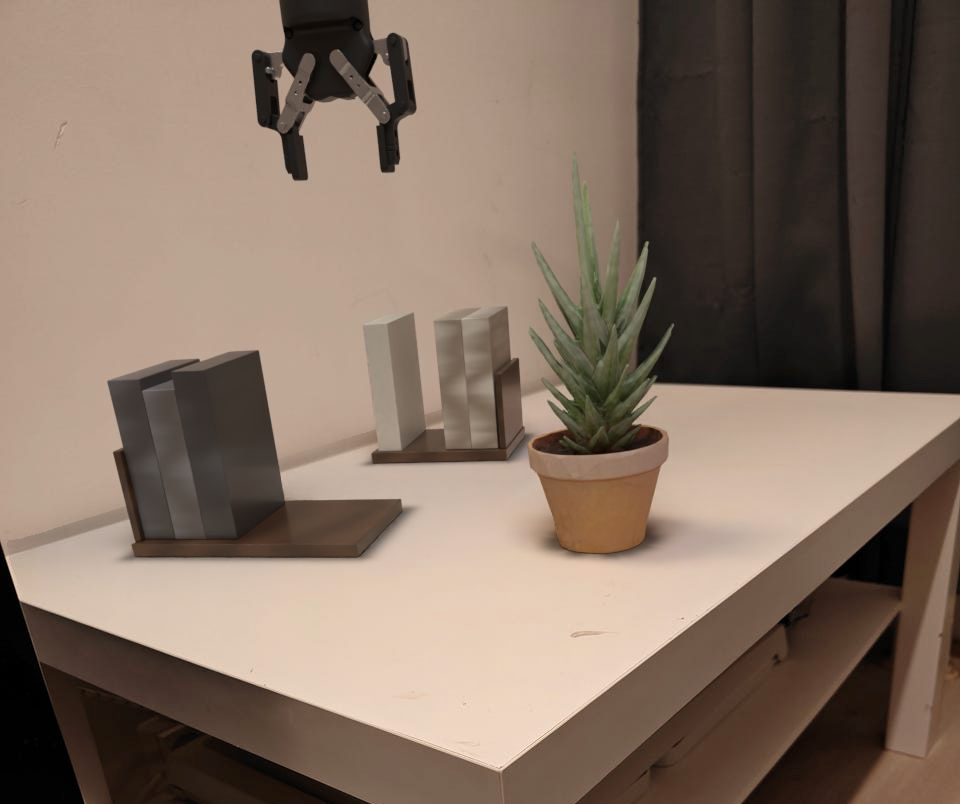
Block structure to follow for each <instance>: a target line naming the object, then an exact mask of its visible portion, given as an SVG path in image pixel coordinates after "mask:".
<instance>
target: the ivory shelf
mask: <svg viewBox="0 0 960 804" xmlns="http://www.w3.org/2000/svg"><path fill="white" fill-rule="evenodd" d="M433 329H434V341H435V348H436V360H437V361H436V362H437V371H438V381H439V393H440V402H441V404H440V405H441V412H442V423H443V428H426V430H425V431H424V432H423V433H422V434H421V435H420V436H418V437H417V438H416V439H415V440H414V441H413V442H411V443H410V444H409V445H408V446H407V447H406V448H405V449H403V450H402V451H386V452H379V450H378V448H376V449H375V450H374V451H372V452H371V462H372V464H391V463H395V464H396V463H432V462H433V463H436V462H475V461H477V462H481V461H482V462H483V461H507V460H508V459H509V457H510V456H511V455H512V454H513V452H515V449H516V448H517V447H518V445H520V443H521V441H522V440H523V439H524V437H525V436H526V427H525V426H524V421H523V403H522V402H523V401H522V387H521V371H520V358H519V357H513V358H512V354H511V353H512V352H511V340H510V323H509V309H508V306H507V305H504V306H502V305H501V306H500V305H499V306H486V307H484V306H483V307H471V308H457V309H455V310H453V311H451V312H449V313H447V314H444V315H442V316H440V317H438V318H436V319H434V320H433Z"/></svg>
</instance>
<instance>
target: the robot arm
mask: <svg viewBox="0 0 960 804" xmlns="http://www.w3.org/2000/svg"><path fill="white" fill-rule="evenodd" d="M278 3H279V10H280V18H281V26H282V30H283V31H282V32H283V35H284V43H283V48H282V51H265V50H260V49H255V50H253V51H252V53H251V65H252V66H251V67H252V78H253V87H254V99H255V108H256V119H257V124H258V125H259V126H260V127H261V128H265V129H269V130H272V131H275V132H277V133H278V134H279V136H280V138H281V147H282V153H283V160H284V167H285V170H286V172H287V174H288V175H291V177H292V180H293V181H294V182H302V181H303V182H304V181H308V179H309V172H308V164H307V156H306V149H305V140H304V135H301V134H300V131H301V129H302V126H303V125H304V122H305V120H306V118H307V116H308V115H309V114H310V113H311V111H312V110H313V108H314V106H315V104H316V102H318V103H324V104H325V103H331V102H334V101H336V100H339V99H340V100H346V101H352V100H356V98H358V99H359V100H360V101H361V102H362V103H363V104H364V105H365V106H366V107H367V109H369V111H370V112H371V113H372V115H373V116H374V117H375V118H376V120H377V121H378V125H375V128H376V129H375V130H376V139H377V149H378V159H379V168H380V172H381V173H382V174H392V173H395V172H396V166H398V165H400V161H401V152H400V141H399V140H400V139H399V130H398V128H399V124H400V122H401V121H402V120H403V119H405V118H407V117H409V116H413V115H415V113H416V112H417V100H416V99H417V97H416V90H415V86H414V85H415V83H414V76H413V70H412V69H413V68H412V62H411V55H410V47H409V42H408V39H407V38H406V37H404V36H402V35H400V34H399V33H396V32H390V33H389V34H388V35H387V37H383V38H378V39H374V37H373V34H372V30H371V20H370V9H369V0H278ZM379 55H380V57H381V59H382V63H383V64H384V65H386V66H388V67H389V69H390V76H391V77H390V78H391V84H392V91H393V97H394V101H393V102H391V103H390V102H389V101H388V100H387V98H386V97H385V94H384V93H383V92H382V90H381V88H380V87H379V86H378V85H377V84H376V82H375V81H374V79H373V78H372V77H371V75H370V74H371V72H372V70H373V67H374V66H375V64H376V61H377V59H378V57H379ZM284 67H285V69H286V70H287V71H288V72H289V74H290V75H291V76H292V78H293V81H292V83H291V85H290V87H289V90H288V92H287V94H286V96H285V100H284V103H285V104H284V106H283V108H282V111H281V107H280V106H281V105H280V95H279V84H278V83H279V81H278V80H280V79H281V77H282V75H283V68H284Z"/></svg>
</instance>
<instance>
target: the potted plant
mask: <svg viewBox="0 0 960 804" xmlns="http://www.w3.org/2000/svg"><path fill="white" fill-rule="evenodd" d="M572 153H573V154H572V155H573V157H572V163H571V164H572V166H571V172H572V173H571V176H572V177H571V179H572V180H571V181H572V195H573V198H572V203H573V213H574V225H575V231H576V234H575V235H576V245H577V253H578V260H579V270H580V275H579V306H578V305H577V306H576V304H575V303H574V302H573V301H572V299H571V298H570V297H569V295H568V294H567V293H566V291H565V290H564V288H563V287H562V286H561V284H560V282H559V280H558V279H557V277H556V275H555V274H554V272H553V270H552V269H551V266H549V263H548V262H547V261H546V259H545V257H544V255H543V254H542V252H541V251H540V249H539V248H538V246H537V245H536V243H535V242H534V240H531V248H532V252H533V254H534V257H535V260H536V263H537V266H538V267H539V269H540V272H541V273H542V276H543V277H544V279H545V283H546V284H547V286H548V288H549V290H550V292H551V295H552V296H553V299H554V302H555V303H556V305H557V307H558V309H559V312H560V313H561V315H562V316H563V319H564V320H565V322H566V324H567V326H568V328H569V329H570V331H571V333H572V335H573V337H574V339H573V338H572V337H571V336H570V335H569V334H568V333H567V332H566V331H565V330H564V329H563V328H562V326H561V325H560V324H559V323H558V322H557V320H556V318H555V317H554V316H553V315H552V313H551V312H550V311H549V309H548V308H547V306H546V305H545V304H544V302H543V301H542V299H540V298H539V297H537V301H538V307H539V309H540V311H541V314H542V316H543V318H544V321H545V322H546V324H547V326H548V328H549V330H550V332H551V333H552V335H553V337H554V339H553V345H554V347H555V349H556V350H557V352H558V354H559V355H560V357H561V358H560V359H559V361H558V360H557V358H556V357H555V356H554V354H553V353H552V352H551V350H550V348H549V347H548V346H547V344H546V343H545V342H544V340H543V339H542V337H540V336H539V334H538V333H536V331H535V330H534V329H533V328H532V327H531V326H530V325H529V326H528V334H529V336H530V338H531V340H532V341H533V343H534V344H535V346H536V348H537V349H538V351H539V352H540V354H541V355H542V356H543V358H544V359H545V360H546V362H547V364H548V365H549V367H550V368H551V369H552V371H553V372H554V373H555V374H556V376H557V377H558V378H559V379H560V381H561V382H562V383H563V384H564V387H565V388H566V390H567V391H568V393H569V394H570V395H571V397H572V398H573V399H569V398H568V397H567V396H565V394H563V393H562V392H561V391H560V390H559V389H558V388H556V387H555V386H554V385H553V384H551V382H550V381H549V380H547V378H545V377H543V376H542V377H541V378H540V381H541V382H542V383H543V385H544V386H545V388H546V389H547V390H548V391H549V393H551V395H552V397H554V398H555V399H556V400H557V401H558V402H559V403H560V404H561V406H562V407H563V408H564V409H563V408H562V409H561V408H559V406H557V405H556V404H555V403H554V402H553V401H552V400H549V399H547V400H546V402H547V404H548V406H549V408H551V410H552V412H553V413H554V415H556V417H557V418H558V419H559V420H560V421H561V423H562V424H563V425H564V426H565V427H566V428H561V429H557V430H553V431H549V432H546V433H542V434H539V435H537V436H535V437H533V438H532V439H530V440H529V441H528V443H527V453H528V461H529V467H530V469H531V470H532V471H534V472H535V473H536V475H537V477H538V478H539V481H540V484H541V487H542V490H543V493H544V495H545V498H546V501H547V505H548V507H549V510H550V513H551V517H552V520H553V524H554V528H555V532H556V536H557V540H558V542H559V544H560V546H561V547H562V548H563V549H566V550H569V551H573V552H577V553H588V554H589V553H590V554H611V553H617V552H623V551H626V550H630V549H634V548H636V547H637V546H638V545H640V544H641V543H642V542H644V541H645V536H646V530H647V523H648V519H649V515H650V511H651V508H652V503H653V500H654V495H655V491H656V488H657V483H658V478H659V475H660V471H661V468H662V466H663V465H664V464H665V462H666V461H667V460H668V458H669V451H670V447H669V446H670V437H669V434H668V431H667V430H665V429H664V428H660V427H658V426H653V425H648V424H642V423H639V424H638V423H636V424H635V423H634V422H635V421H637V419H639V418H640V417H641V416H642V414H643V413H645V412H646V410H647V409H648V408H649V407H650V406H651V404H653V402H654V401H655V400H656V399H657V397H658V395H654V396H653V397H652V398H650V399H649V400H647V401H646V402H645V403H643V404H642V405H641V406H639V407H638V405H639V403H641V402H642V400H643V399H644V398H645V396H646V395H647V394H648V392H649V391H650V389H651V388H652V386H653V385H654V384H655V382H656V380H657V378H658V375H655V374H654V375H653V376H651V378H648V376H649V374H650V372H651V371H652V369H653V367H654V366H655V364H656V363H657V361H658V360H659V358H660V357H661V354H662V353H663V351H664V348H665V347H666V345H667V343H668V341H669V340H670V337H671V336H672V330H673V329H674V327H675V324H674V323H671V324H670V326H669V327H668V329H667V330H666V332H665V333H664V335H663V336H662V338H661V339H660V342H659V343H657V346H656V347H655V348H654V350H653V351H652V352H651V354H650V355H649V356H648V357H647V358H646V359H645V360H643V361H642V362H641V363H640V364H639V365H638V366H637V367H636V368H634V369H633V370H632V371H631V372H629V368H630V366H629V363H630V360H631V357H632V354H633V351H634V349H635V346H636V344H637V341H638V337H639V335H640V332H641V329H642V327H643V323H644V321H645V318H646V315H647V313H648V309H649V306H650V304H651V300H652V297H653V295H654V291H655V288H656V283H657V277H655V276H654V277H653V278H652V280H651V282H650V284H649V286H648V288H647V289H646V292H645V293H644V295H643V298H642V300H641V302H640V304H639V306H638V308H637V309H636V306H637V302H638V300H639V297H640V296H639V295H640V291H641V289H642V284H643V280H644V278H645V273H646V269H647V268H646V267H647V261H648V254H649V249H648V246H649V244H650V242H649V241H645V243H644V245H643V248H642V251H641V253H640V256H639V258H638V260H637V263H636V265H635V267H634V269H633V271H632V273H631V275H630V276H629V277H630V278H629V279H628V281H627V284H626V285H625V287H624V289H623V291H622V293H621V295H620V297H619V299H618V291H619V290H618V289H619V280H620V263H621V219H620V216H619V217H617V218H616V221H615V222H616V223H615V228H614V231H613V235H612V241H611V246H610V252H609V256H608V261H607V266H606V270H605V275H604V281H603V286H602V279H601V271H600V262H599V254H598V250H597V246H596V239H595V237H596V236H595V231H594V229H595V228H594V222H593V215H592V207H591V201H590V195H589V190H588V185H587V181H586V180H584V181H583V183H582V189H581V184H580V175H579V166H578V162H577V154H576V151H573V152H572ZM581 190H582V192H581ZM635 309H636V312H635ZM634 312H635V314H634ZM633 315H634V316H633ZM628 372H629V373H628ZM637 407H638V408H637Z"/></svg>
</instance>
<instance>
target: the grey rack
mask: <svg viewBox="0 0 960 804" xmlns="http://www.w3.org/2000/svg"><path fill="white" fill-rule="evenodd" d="M106 382H107V383H106V384H107V387H108V391H109V395H110V398H111V404H112V408H113V412H114V415H115V421H116V424H117V428H118V431H119V432H118V433H119V437H120V440H121V441H120V442H121V444H122V445H121V446H122V447H120V448H118V449H116V450H113V451H112V455H113V459H114V463H115V467H116V471H117V474H118V480H119V483H120V488H121V491H122V495H123V499H124V503H125V507H126V511H127V515H128V518H129V519H128V520H129V523H130V527H131V531H132V536H133V540H134V542H133V543H131V548H132V552H133V556H134V557H175V558H176V557H183V558H185V557H186V558H187V557H191V558H193V557H194V558H195V557H197V558H199V557H203V558H204V557H209V558H211V557H214V558H215V557H219V558H220V557H225V558H227V557H228V558H231V557H233V558H234V557H237V558H238V557H239V558H241V557H244V558H245V557H246V558H247V557H249V558H251V557H252V558H253V557H254V558H255V557H256V558H257V557H259V558H261V557H264V558H265V557H266V558H267V557H269V558H274V557H275V558H276V557H278V558H281V557H282V558H283V557H284V558H285V557H286V558H287V557H288V558H290V557H291V558H300V557H301V558H312V557H313V558H330V557H331V558H359V557H360V556H361V555H362V554H363V552H364V551H365V550H367V548H369V546H370V545H371V544H372V543H373V542H374V541H375V540H376V539H377V538H378V537H379V536H380V535H381V534H382V532H384V531H385V530H386V528H387V527H389V525H390V524H391V523H392V522H393V521H394V520H395V519H396V518H397V517H398V516H399V514H400V513H401V512H402V511H403V502H402V498H381V499H380V498H372V499H371V498H368V499H367V498H365V499H300V500H299V499H297V500H296V499H294V500H293V499H292V500H291V499H290V500H289V499H287V500H286V498H285V493H284V488H283V482H282V476H281V470H280V464H279V459H278V453H277V447H276V440H275V436H274V429H273V423H272V419H271V417H272V416H271V412H270V406H269V400H268V394H267V389H266V384H265V383H266V382H265V378H264V371H263V365H262V361H261V355H260V350H259V349H252V350H234V351H232V350H231V351H227V352H224V353H221V354H219V355H215V356H212V357H209V358H207V359H204V360H201V359H200V358H185V359H184V358H183V359H170V360H167V361H163V362H161V363H158V364H154V365H151V366H148V367H145V368H142V369H138V370H136V371H132V372H130V373H126V374H123V375H121V376H117V377H114V378H111V379H108V380H107V381H106Z"/></svg>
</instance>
